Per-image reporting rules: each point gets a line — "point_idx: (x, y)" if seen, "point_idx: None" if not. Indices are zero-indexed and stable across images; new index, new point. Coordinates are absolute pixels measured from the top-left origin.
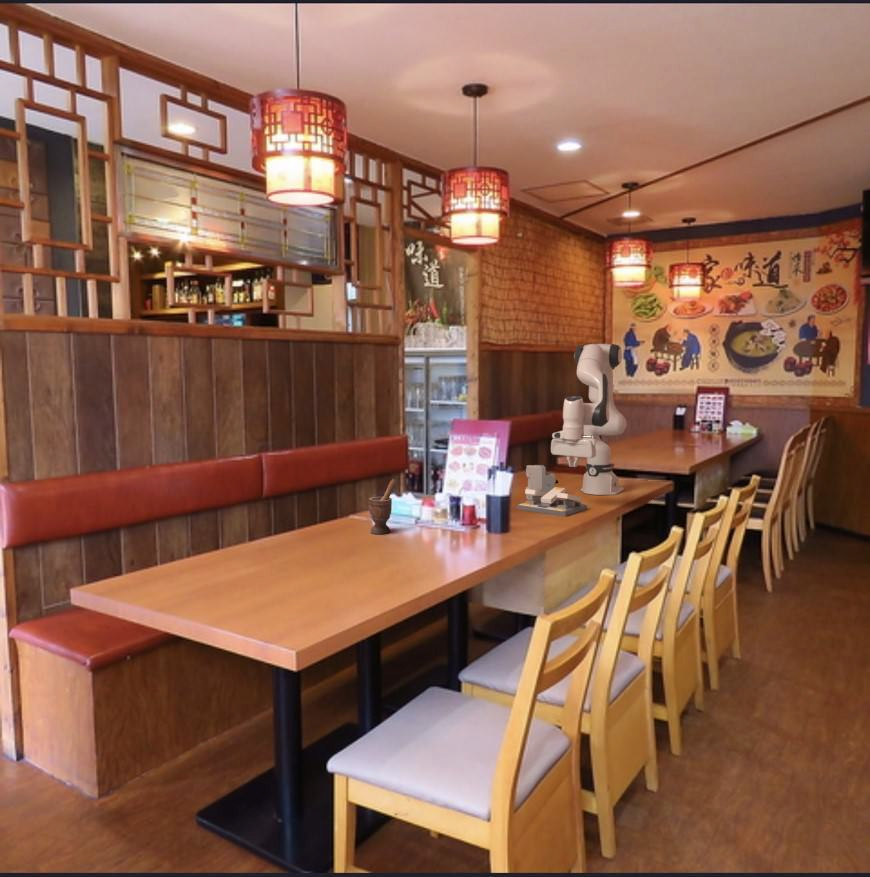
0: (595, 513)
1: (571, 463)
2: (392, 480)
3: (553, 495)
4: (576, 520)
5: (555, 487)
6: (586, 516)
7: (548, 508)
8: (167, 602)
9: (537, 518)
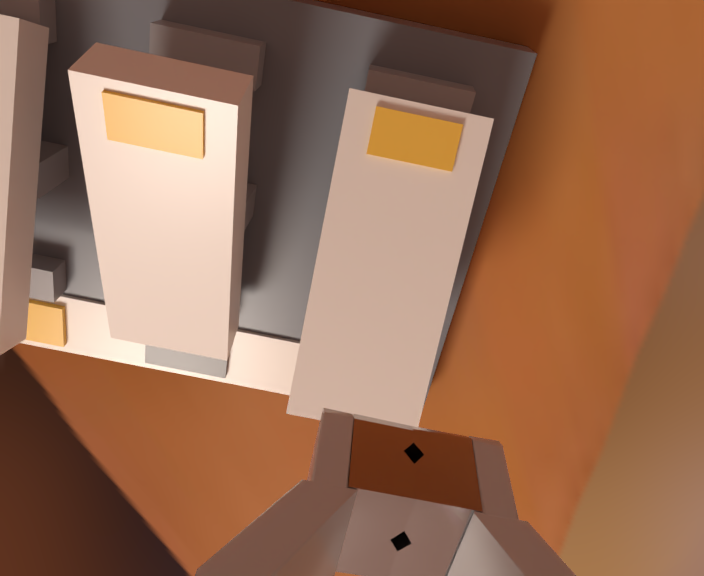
0: (639, 196)
1: (370, 557)
2: None
3: (205, 291)
4: (527, 465)
5: (83, 80)
6: (576, 334)
7: (257, 380)
8: None
9: (266, 496)
